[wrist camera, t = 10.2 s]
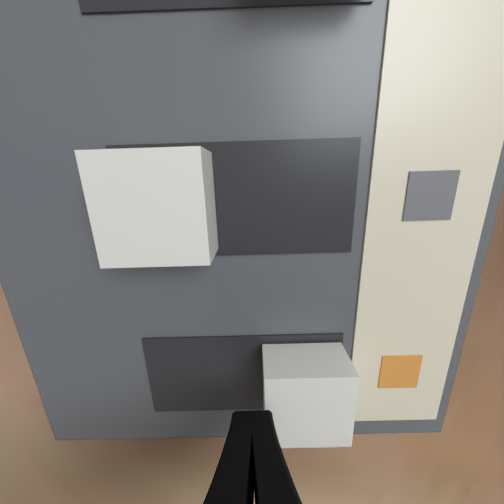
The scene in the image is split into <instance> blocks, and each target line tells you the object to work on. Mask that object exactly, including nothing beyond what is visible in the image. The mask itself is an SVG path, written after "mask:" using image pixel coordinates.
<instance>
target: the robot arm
mask: <svg viewBox="0 0 504 504" xmlns="http://www.w3.org/2000/svg"><path fill="white" fill-rule="evenodd" d="M254 492H255V504H302V503H301V500H300V498H299V495H298V493H297V490H296V488H295V485H294V483H293V480H292V477H291V475H290V472H289V469H288V467H287V464H286V461H285V459H284V456H283V453H282V450H281V446H280V443H279V440H278V437H277V433H276V429H275V426H274V421H273V416H272V412H271V411H269V410H253V411H235V412H233V413H232V418H231V423H230V427H229V431H228V435H227V438H226V442H225V445H224V448H223V451H222V454H221V457H220V460H219V463H218V466H217V469H216V472H215V474H214V477H213V480H212V483H211V485H210V488H209V490H208V493H207V495H206V498H205V500H204V503H203V504H253V500H254Z"/></svg>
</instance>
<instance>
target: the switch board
mask: <svg viewBox="0 0 504 504" xmlns="http://www.w3.org/2000/svg"><path fill="white" fill-rule="evenodd" d="M183 146H201V147H203V148H205V149H207V150H208V151H210V152H212V165H213V179H214V193H215V207H216V221H217V234H218V250H217V252H216V254H215V256H214V259H213V261H212V263H211V265H209V266H173V267H137V268H101V269H100V265H99V260H98V256H97V251H96V247H95V242H94V238H93V233H92V229H91V224H90V220H89V215H88V211H87V206H86V201H85V197H84V192H83V188H82V183H81V179H80V174H79V170H78V165H77V161H76V156H75V151H74V150H91V149H121V148H152V147H183ZM503 186H504V0H0V282H1V285H2V288H3V291H4V294H5V297H6V299H7V302H8V305H9V308H10V311H11V314H12V317H13V319H14V322H15V325H16V328H17V331H18V334H19V337H20V339H21V342H22V345H23V348H24V351H25V354H26V357H27V359H28V362H29V365H30V368H31V371H32V374H33V377H34V379H35V382H36V385H37V388H38V391H39V394H40V397H41V399H42V402H43V405H44V408H45V411H46V414H47V417H48V419H49V422H50V425H51V428H52V431H53V434H54V437H55V439H56V440H94V439H141V438H188V437H227V435H228V431H229V427H230V423H231V418H232V413H233V412H235V411H253V410H264V406H263V360H262V344H294V343H334V342H341V343H342V345H343V347H344V349H345V350H346V352H347V354H348V356H349V358H350V360H351V362H352V363H353V365H354V367H355V369H356V371H357V373H358V375H359V377H360V379H359V388H358V396H357V405H356V413H355V421H354V430H353V434H376V433H423V432H441V430H442V426H443V422H444V418H445V414H446V410H447V406H448V402H449V398H450V395H451V391H452V387H453V383H454V379H455V375H456V371H457V367H458V363H459V359H460V355H461V351H462V347H463V343H464V340H465V336H466V332H467V328H468V324H469V320H470V316H471V312H472V308H473V304H474V300H475V296H476V292H477V288H478V284H479V281H480V277H481V273H482V269H483V265H484V261H485V257H486V253H487V249H488V245H489V241H490V237H491V233H492V229H493V226H494V222H495V218H496V214H497V210H498V206H499V202H500V198H501V194H502V190H503Z"/></svg>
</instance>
